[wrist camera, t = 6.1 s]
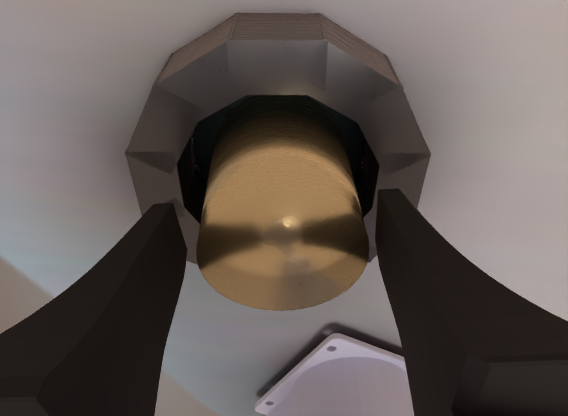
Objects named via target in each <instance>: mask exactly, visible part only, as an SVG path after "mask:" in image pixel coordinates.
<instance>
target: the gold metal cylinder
mask: <svg viewBox="0 0 568 416" xmlns="http://www.w3.org/2000/svg"><path fill="white" fill-rule="evenodd" d="M369 251H370V247H369V239H368V235H367V231H366V227H365V223H364V219H363V215H362V211H361V207H360V203H359V199H358V195H357V191H356V187H355V183H354V179H353V175H352V171H351V167H350V163H349V159H348V155H347V151H346V147H345V143H344V139H343V136H342V132H341V129H340V127H339V125H338V123H337V122H336V120H335V119H334V117H333V116H332V115H331V114H330V113H329V112H328V111H327V110H326V109H325V108H324V107H322V106H321V105H319V104H318V103H316V102H315V101H313V100H310V99H308V98H306V97H303V96H299V95H260V96H257V97H254V98H251V99H249V100H247V101H245V102H243V103H241V104H240V105H238V106H237V107H236V108H234V109H233V110H232V111H231V112H230V113H229V114H228V115H227V116H226V117H225V119H224V120H223V122H222V123H221V125H220V127H219V129H218V131H217V134H216V137H215V142H214V148H213V154H212V159H211V165H210V171H209V177H208V183H207V188H206V194H205V200H204V206H203V211H202V217H201V223H200V229H199V235H198V240H197V248H196V257H197V263H198V266H199V269H200V271H201V273H202V275H203V276H204V278H205V279H206V281H207V282H208V283H209V284H210V285H211V286H212V287H213V288H214V289H215V290H217V291H218V292H219V293H220V294H222V295H224V296H225V297H227V298H229V299H231V300H233V301H235V302H237V303H240V304H243V305H246V306H249V307H253V308H258V309H264V310H281V311H284V310H296V309H303V308H307V307H312V306H315V305H318V304H322V303H324V302H326V301H329V300H331V299H333V298H335V297H337V296H339V295H340V294H342V293H343V292H345V291H346V290H347V289H348V288H350V287H351V286H352V285H353V284H354V283H355V282H356V281H357V280H358V279H359V277H360V276H361V274H362V273H363V271H364V269H365V267H366V265H367V262H368V258H369Z"/></svg>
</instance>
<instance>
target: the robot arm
mask: <svg viewBox="0 0 568 416" xmlns="http://www.w3.org/2000/svg"><path fill="white" fill-rule="evenodd" d="M375 243H376V249H377V255H378V261H379V267H380V270H381V274H382V277H383V281H384V284H385V288H386V291H387V294H388V298H389V301H390V304H391V308H392V311H393V314H394V318H395V321H396V324H397V328H398V331H399V335H400V339H401V344H402V349H403V355H404V357H402V356H400V355H397V354H394V353H392V352H389V351H386V350H383V349H381V348H378V347H375V346H373V345H370V344H367V343H365V342H362V341H359V340H356V339H354V338H351V337H348V336H346V335H343V334H340V333H334V334H331V335H329V336H328V337H327V338H326V339H325V340H324V341H323V342H322V343H321V344H319V345H318V346H317V347H316V348H315V349H314V350H313V351H312V352H311V353H310V354H308V355H307V356H306V357H305V358H304V359H303V360H302V361H301V362H300V363H299V364H298V365H296V366H295V367H294V368H293V369H292V370H291V371H290V372H289V373H288V374H287V375H286V376H284V377H283V378H282V379H281V380H280V381H279V382H278V383H277V384H276V385H275V386H273V387H272V388H271V389H270V390H269V391H268V392H267V393H266V394H265V395H264V396H263V397H261V398H260V399H259V400H258V401H257V402H256V403H255V411H256V412H258V413H261V414H265V415H267V416H568V321H566V320H564V319H562V318H560V317H558V316H555V315H553V314H552V313H550V312H548V311H546V310H544V309H542V308H541V307H539V306H537V305H535V304H533V303H531V302H530V301H528V300H526V299H525V298H523V297H521V296H519V295H518V294H516V293H514V292H513V291H511V290H510V289H508V288H507V287H505V286H504V285H502V284H501V283H499V282H498V281H496V280H495V279H493V278H492V277H490V276H489V275H487V274H486V273H485V272H483V271H482V270H481V269H479V268H478V267H477V266H475V265H474V264H473V263H472V262H470V261H469V260H468V259H467V258H465V257H464V256H463V255H462V254H461V253H460V252H458V251H457V250H456V249H455V248H454V247H453V246H452V245H451V244H450V243H449V242H447V241H446V240H445V239H444V238H443V237H442V236H441V235H440V234H439V233H438V232H437V231H436V230H435V229H434V227H433V226H432V225H431V224H430V223H429V222H428V221H427V220H426V219H425V218H424V217H423V216H422V215H421V214H420V212H419V211H418V210H417V209H416V208H415V207H414V206H413V204H412V203H411V202H410V201H409V200H408V198H407V197H406V196H405V195H404V193H403V192H402V191H401V190H400V189H399V188H394V189H379V190H378V199H377V215H376V230H375ZM186 258H187V247H186V243H185V240H184V237H183V234H182V230H181V227H180V224H179V221H178V218H177V214H176V211H175V208H174V205H173V203H158V204H153V205H152V206H151V207H150V208H149V209H148V210H147V212H146V213H145V214H144V215H143V216H142V217H141V218H140V219H139V220H138V221H137V223H136V224H135V225H134V226H133V227H132V228H131V229H130V230H129V231H128V232H127V233H126V234H125V236H124V237H123V238H122V239H121V240H120V241H119V242H118V243H117V244H116V245H115V246H114V247H113V248H112V249H111V250H110V251H109V252H108V253H107V254H106V255H105V256H104V257H103V258H102V259H101V260H100V261H99V262H98V263H97V264H95V265H94V266H93V267H92V268H91V269H90V270H89V271H88V272H87V273H86V274H85V275H83V276H82V277H81V278H80V279H79V280H77V281H76V282H75V283H74V284H73V285H71V286H70V287H69V288H68V289H66V290H65V291H64V292H63V293H61V294H60V295H59V296H57V297H56V298H54V299H53V300H52V301H50V302H49V303H47V304H46V305H45V306H43V307H42V308H40V309H39V310H38V311H36V312H35V313H33V314H32V315H30V316H29V317H27V318H26V319H24V320H22V321H21V322H19V323H18V324H16V325H14V326H13V327H11V328H9V329H8V330H6V331H4V332H3V333H1V334H0V416H154V414H155V406H156V399H157V392H158V385H159V379H160V372H161V366H162V360H163V354H164V349H165V345H166V341H167V337H168V333H169V330H170V326H171V323H172V319H173V315H174V312H175V308H176V305H177V301H178V298H179V294H180V290H181V286H182V283H183V279H184V273H185V266H186Z"/></svg>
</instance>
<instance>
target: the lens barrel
mask: <svg viewBox="0 0 568 416" xmlns="http://www.w3.org/2000/svg"><path fill="white" fill-rule="evenodd" d="M260 95H299V96H303V97H306V98H308V99H310V100H313V101H315V102H316V103H318V104H319V105H321V106H322V107H324V108H325V109H326V110H327V111H328V112H329V113H330V114H331V115H332V116H333V117H334V119H335V120H336V122H337V123H338V125H339V127H340V129H341V132H342V136H343V139H344V143H345V147H346V151H347V155H348V159H349V163H350V167H351V171H352V175H353V179H354V183H355V187H356V191H357V195H358V199H359V203H360V207H361V211H362V215H363V219H364V223H365V227H366V231H367V235H368V239H369V247H370V251H369V258H368V262H370V261H371V260H372V259H373V258H374V257H375V256H376V255H377V249H376V243H375V230H376V215H377V199H378V190H379V189H394V188H399V189H400V190H401V191H402V192H403V193H404V195H405V196H406V197H407V198H408V200H409V201H410V202H411V203H412V204H413V206H414V207H415V208H416V209H417V206H418V202H419V198H420V194H421V190H422V186H423V182H424V178H425V174H426V171H427V167H428V163H429V159H430V157H431V153H430V151H429V149H428V147H427V145H426V142H425V140H424V138H423V136H422V134H421V131H420V129H419V127H418V124H417V122H416V120H415V117H414V115H413V112H412V110H411V108H410V105H409V103H408V101H407V98H406V96H405V93H404V91H403V86H402V84H401V82H400V80H399V78H398V76H397V75H396V73H395V71H394V69H393V67H392V65H391V63H390V61H389V59H388V57H387V56H386V54H385V55H384V54H382V53H381V52H379V51H378V50H376V49H374V48H373V47H371V46H370V45H368V44H367V43H365V42H363V41H362V40H360V39H359V38H357V37H356V36H354V35H352V34H351V33H349V32H348V31H346V30H345V29H343V28H342V27H340V26H338V25H337V24H335V23H334V22H332V21H331V20H329V19H327V18H326V17H324V16H323V15H322V14H320V13H318V14H239V13H237V14H235V15H234V16H232V17H231V18H229V19H228V20H226V21H224V22H223V23H221V24H220V25H218V26H216V27H215V28H213V29H212V30H210V31H208V32H207V33H205V34H204V35H202V36H201V37H199V38H197V39H196V40H194V41H193V42H191V43H189V44H188V45H186V46H185V47H183V48H181V49H180V50H178V51H177V52H175V53H174V54H173V53H172V54H171V55H170V57H169V58H168V60H167V62H166V64H165V65H164V67H163V69H162V70H161V72H160V74H159V75H158V77H157V79H156V81H155V82H154V84H153V86H152V90H151V93H150V95H149V98H148V100H147V102H146V105H145V107H144V110H143V112H142V115H141V117H140V119H139V122H138V124H137V127H136V129H135V132H134V134H133V136H132V139H131V141H130V144H129V146H128V147H127V149H126V151H125V155H126V156H127V160H128V164H129V168H130V172H131V176H132V179H133V183H134V187H135V191H136V195H137V199H138V202H139V206H140V210H141V215H142V216H143V215H144V214H145V213H146V212H147V210H148V209H149V208H150V207H151V206H152V205H153V204H158V203H173V205H174V208H175V211H176V214H177V218H178V221H179V224H180V227H181V230H182V234H183V237H184V240H185V243H186V247H187V258H186V260H187V261H190V262H192V263H195V264H198V263H197V257H196V248H197V240H198V235H199V229H200V223H201V217H202V211H203V206H204V200H205V194H206V188H207V183H208V177H209V171H210V165H211V159H212V154H213V148H214V142H215V137H216V134H217V131H218V129H219V127H220V125H221V123H222V122H223V120H224V119H225V117H226V116H227V115H228V114H229V113H230V112H231V111H232V110H233V109H234V108H236V107H237V106H238V105H240V104H241V103H243V102H245V101H247V100H249V99H251V98H254V97H257V96H260ZM194 129H195V131H194ZM193 131H194V142H193V143H194V152H193V145H192V138H191V135H192V133H193ZM364 136H365V138H366V140H367V141H366V148H365V155H364V144H365V142H364ZM194 153H195V158H196V162H197V164H198V167H199V170H200V172H201V173H202V174H201V173H200V172H199V170H198V169H197V168H196V166H195V159H194ZM363 155H364V163H363V168H362V170H361V171H360V172H359V173H358V171H359V169H360V166H361V163H362V160H363ZM357 173H358V174H357ZM356 175H357V176H356ZM368 262H367V263H368Z"/></svg>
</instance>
